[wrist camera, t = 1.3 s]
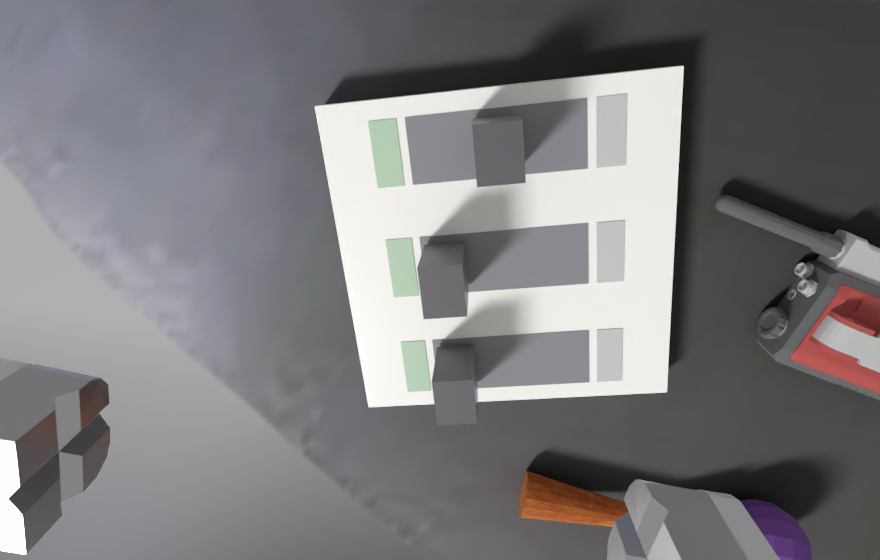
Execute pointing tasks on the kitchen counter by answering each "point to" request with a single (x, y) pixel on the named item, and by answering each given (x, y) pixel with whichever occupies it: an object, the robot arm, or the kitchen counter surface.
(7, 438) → the robot arm
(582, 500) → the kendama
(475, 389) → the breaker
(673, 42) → the kitchen counter surface
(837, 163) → the kitchen counter surface
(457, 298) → the block
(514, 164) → the block
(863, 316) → the walkie-talkie
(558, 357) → the breaker panel
